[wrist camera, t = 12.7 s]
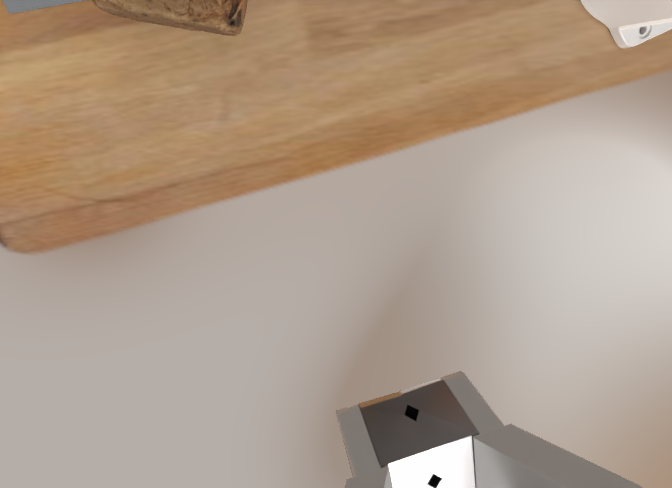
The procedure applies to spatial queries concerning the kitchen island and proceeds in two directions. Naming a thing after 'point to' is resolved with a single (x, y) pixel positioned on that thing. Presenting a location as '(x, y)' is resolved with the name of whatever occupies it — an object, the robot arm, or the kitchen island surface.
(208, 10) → the block
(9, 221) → the kitchen island surface
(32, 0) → the mat
